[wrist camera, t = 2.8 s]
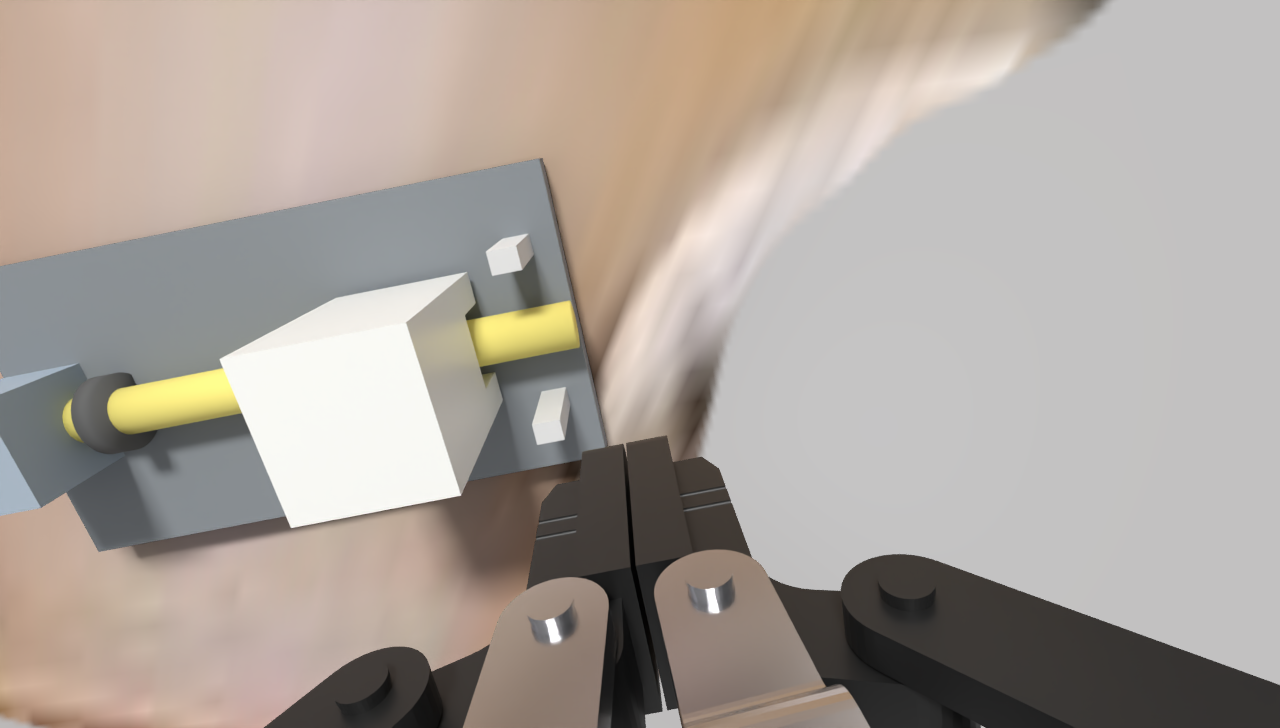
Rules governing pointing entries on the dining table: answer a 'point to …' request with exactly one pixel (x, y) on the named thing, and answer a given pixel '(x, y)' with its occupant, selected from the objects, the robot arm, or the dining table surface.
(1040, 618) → the robot arm
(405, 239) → the linear slide rail
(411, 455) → the sleeve
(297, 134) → the dining table surface
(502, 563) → the dining table surface
